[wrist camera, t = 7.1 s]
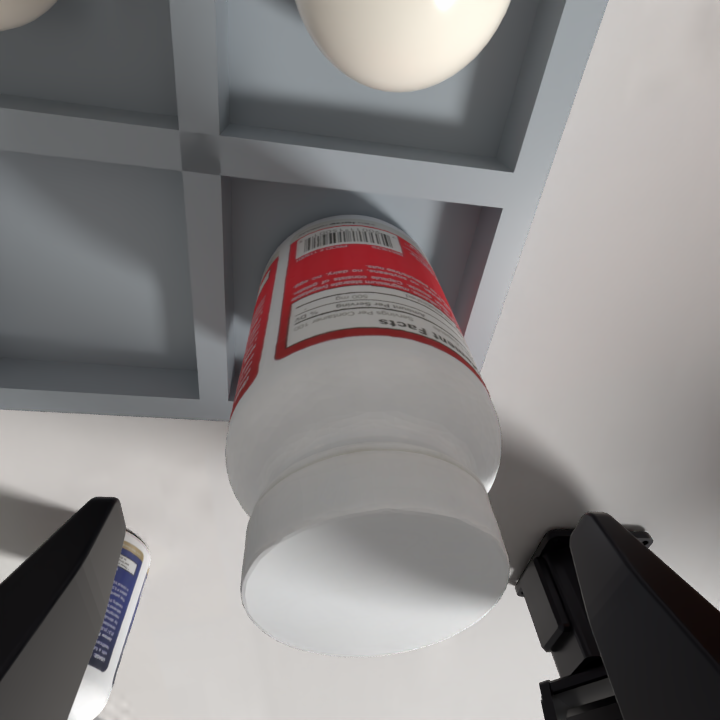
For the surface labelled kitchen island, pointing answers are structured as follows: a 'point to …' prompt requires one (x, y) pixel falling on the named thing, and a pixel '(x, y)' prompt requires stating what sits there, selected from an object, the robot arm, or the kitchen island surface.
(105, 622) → the pill bottle
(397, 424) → the pill bottle
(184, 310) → the carton tray
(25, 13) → the egg
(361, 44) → the egg
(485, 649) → the kitchen island surface
